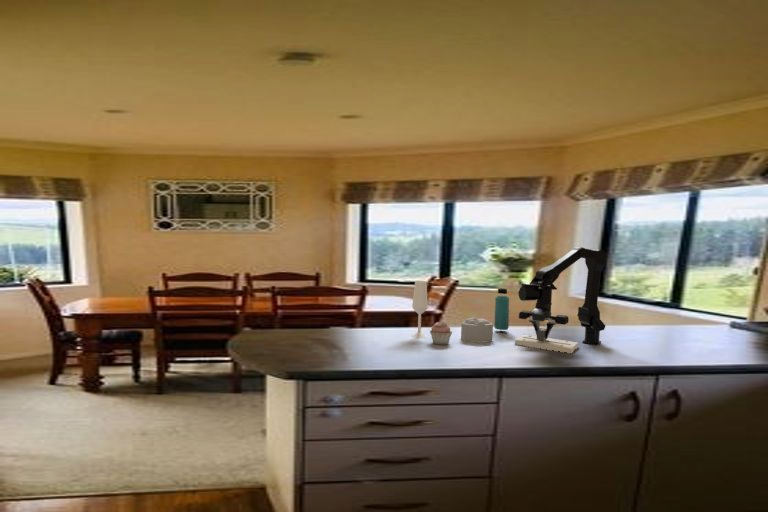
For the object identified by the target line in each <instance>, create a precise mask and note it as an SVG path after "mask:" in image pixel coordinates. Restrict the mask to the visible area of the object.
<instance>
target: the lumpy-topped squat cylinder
mask: <svg viewBox="0 0 768 512" xmlns="http://www.w3.org/2000/svg"><path fill="white" fill-rule="evenodd" d="M460 329H461V330H460V331H461V332H460V340H461V341H463V342H468V343H470V342H471V343H487V342H488V343H489V341H490V342H493V335H494V324H493V323H492V322H490V321H489V320H487V319H485V318H476V317H470V318H467V319H465V320H463V321H462V322H461V327H460Z"/></svg>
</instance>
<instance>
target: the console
mask: <svg viewBox="0 0 768 512" xmlns="http://www.w3.org/2000/svg"><path fill="white" fill-rule="evenodd" d="M514 345H515V346H522V345H523V347H528V346H529V348H534V347H535V349H540V348H541V350H546V349H547V351H552V350H554V351H553V352H558V351H560V352H559V353H564V352H567V353H566V354H570V353H571V354H572V353H574V352H575V351H576V350H577V349H578V348H579V342H577V341H571V340H570V341H569V340H564V339H557V338H551V337H548V339H546V340H545V341H541V340H537V335H532V334H523V335H521V336H519V337H518V338H515V340H514ZM575 349H576V350H575ZM574 350H575V351H574Z"/></svg>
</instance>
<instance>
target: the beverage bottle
mask: <svg viewBox="0 0 768 512" xmlns="http://www.w3.org/2000/svg"><path fill="white" fill-rule="evenodd" d="M497 293H498V294H500V295H496V296H495V300H494V301H495V303H494V319H493V320H494V322H493V323H494V324H493V325H494V329H496V330H498V331H499V330H500V331H507V330H508V329H509V325H510V324H509V323H510V322H509V321H510V319H509V318H510V297H508V296H507V295H506V294H508V288H507V289H506V288H503V287H502V288H501V287H500V288H498V289H497ZM501 294H502V295H501Z"/></svg>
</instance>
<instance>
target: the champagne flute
mask: <svg viewBox="0 0 768 512" xmlns="http://www.w3.org/2000/svg"><path fill="white" fill-rule="evenodd" d="M413 288H414V290H413V298H412V305H411V306H412V309H413V311H415V313H417V315H418V316H417V319H418V320H417V332H415V333H414V334H413V333H412V334H411V338H415V339H425V338H427V335H426V334H425V333H423V332H422V331H421V330H422V329H421V328H422V314H424V313H425V312H426V311H427V310H428V308H429V304H428V290H427V289H428V288H427V280H426V281H425V280H415V281H414V287H413Z"/></svg>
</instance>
